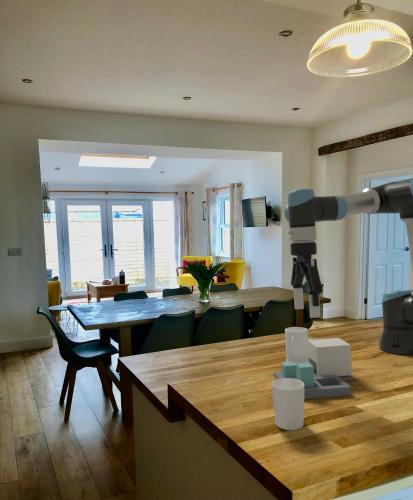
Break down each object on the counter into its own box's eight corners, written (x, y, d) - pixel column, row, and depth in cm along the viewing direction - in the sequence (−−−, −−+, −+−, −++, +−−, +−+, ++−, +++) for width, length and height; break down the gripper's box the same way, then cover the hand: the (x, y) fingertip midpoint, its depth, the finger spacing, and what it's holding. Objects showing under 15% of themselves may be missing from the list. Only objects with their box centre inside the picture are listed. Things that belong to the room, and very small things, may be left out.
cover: (339, 366, 132) (338, 337, 132) (352, 375, 123) (350, 344, 123) (308, 368, 131) (307, 340, 131) (318, 377, 122) (316, 347, 122)
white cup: (269, 418, 100) (268, 379, 99) (299, 415, 100) (298, 377, 100) (278, 433, 92) (276, 391, 92) (310, 430, 92) (309, 388, 92)
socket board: (336, 382, 121) (336, 374, 121) (351, 395, 111) (350, 386, 111) (286, 386, 120) (285, 378, 120) (296, 399, 110) (296, 391, 110)
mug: (302, 369, 134) (301, 335, 134) (279, 366, 139) (277, 333, 139) (312, 360, 144) (311, 327, 144) (290, 357, 149) (289, 326, 149)
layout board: (339, 369, 133) (339, 355, 133) (353, 380, 123) (352, 364, 123) (273, 374, 131) (272, 360, 131) (281, 385, 121) (281, 369, 121)
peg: (309, 388, 117) (308, 362, 117) (314, 394, 114) (313, 366, 113) (296, 389, 117) (295, 363, 117) (301, 395, 113) (300, 367, 113)
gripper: (279, 242, 128) (282, 306, 129) (305, 242, 103) (309, 322, 104) (301, 241, 129) (304, 305, 130) (332, 241, 104) (336, 320, 105)
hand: (306, 312), depth 117 cm, fingers open, 13 cm apart
